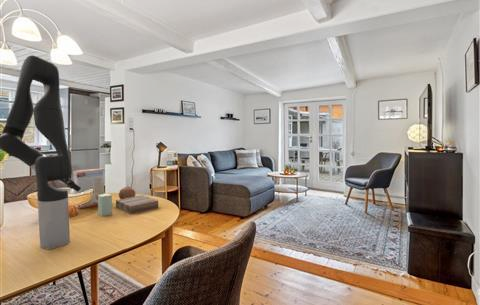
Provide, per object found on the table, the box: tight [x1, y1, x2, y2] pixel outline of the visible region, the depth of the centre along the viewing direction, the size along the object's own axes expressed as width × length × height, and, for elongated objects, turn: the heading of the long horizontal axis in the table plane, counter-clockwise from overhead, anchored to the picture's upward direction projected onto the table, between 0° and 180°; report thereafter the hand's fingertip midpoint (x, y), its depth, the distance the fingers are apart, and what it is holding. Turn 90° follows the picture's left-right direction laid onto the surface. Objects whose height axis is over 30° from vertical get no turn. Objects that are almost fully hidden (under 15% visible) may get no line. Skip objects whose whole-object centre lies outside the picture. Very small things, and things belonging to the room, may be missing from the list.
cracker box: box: [72, 168, 105, 210], centre depth 150 cm, size 14×6×21 cm, turn 139°
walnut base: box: [115, 194, 159, 215], centre depth 148 cm, size 18×16×4 cm
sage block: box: [97, 193, 113, 217], centre depth 135 cm, size 5×5×10 cm
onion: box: [118, 185, 136, 200], centre depth 161 cm, size 10×9×10 cm
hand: (76, 188), depth 125 cm, fingers open, 8 cm apart
